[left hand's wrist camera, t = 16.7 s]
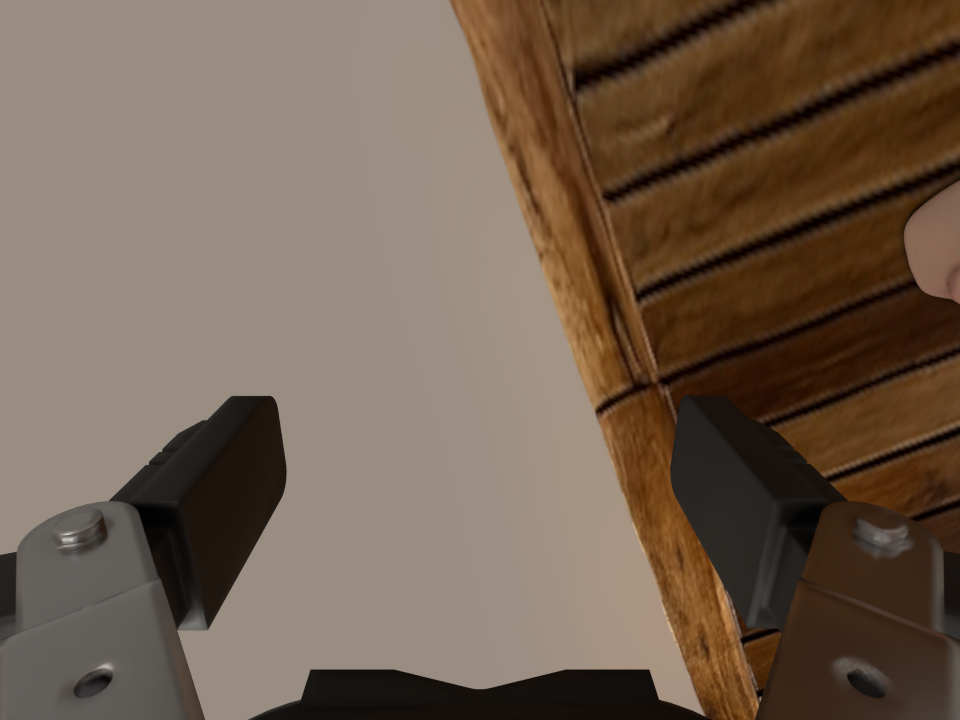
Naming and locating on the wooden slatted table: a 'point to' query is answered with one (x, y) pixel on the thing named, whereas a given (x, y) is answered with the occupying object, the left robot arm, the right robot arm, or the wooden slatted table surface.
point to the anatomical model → (936, 244)
